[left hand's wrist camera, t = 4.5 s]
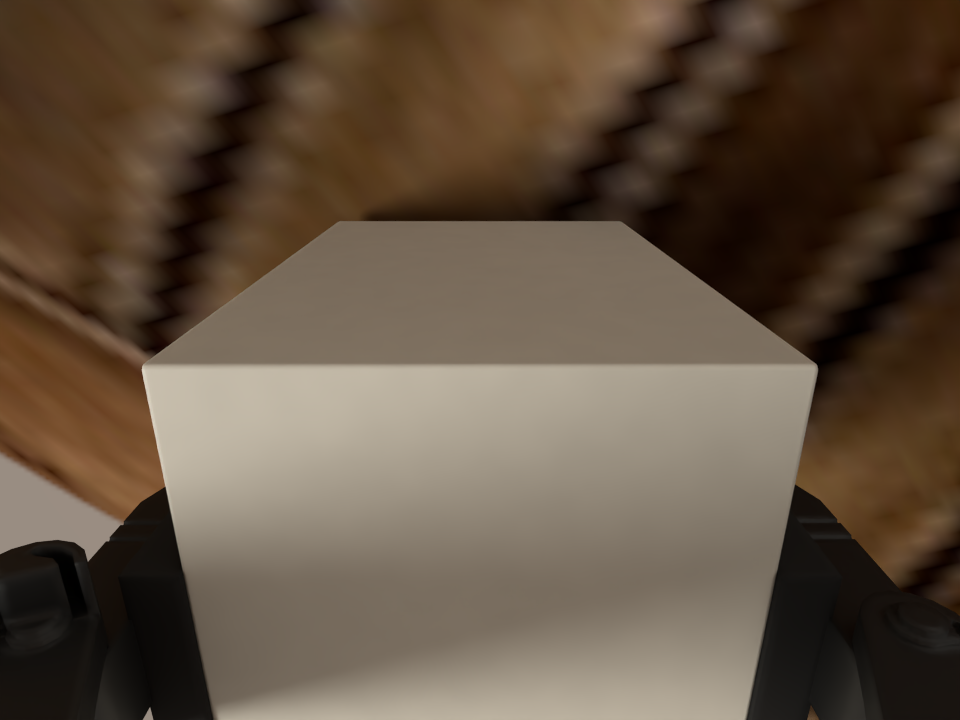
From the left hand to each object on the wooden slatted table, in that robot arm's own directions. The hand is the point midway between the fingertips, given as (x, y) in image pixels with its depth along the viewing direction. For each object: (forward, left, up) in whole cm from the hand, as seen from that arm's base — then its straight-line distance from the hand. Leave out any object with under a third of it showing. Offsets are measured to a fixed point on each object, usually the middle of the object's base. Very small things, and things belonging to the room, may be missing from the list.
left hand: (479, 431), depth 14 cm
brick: (0, 0, -4) cm, 4 cm away
